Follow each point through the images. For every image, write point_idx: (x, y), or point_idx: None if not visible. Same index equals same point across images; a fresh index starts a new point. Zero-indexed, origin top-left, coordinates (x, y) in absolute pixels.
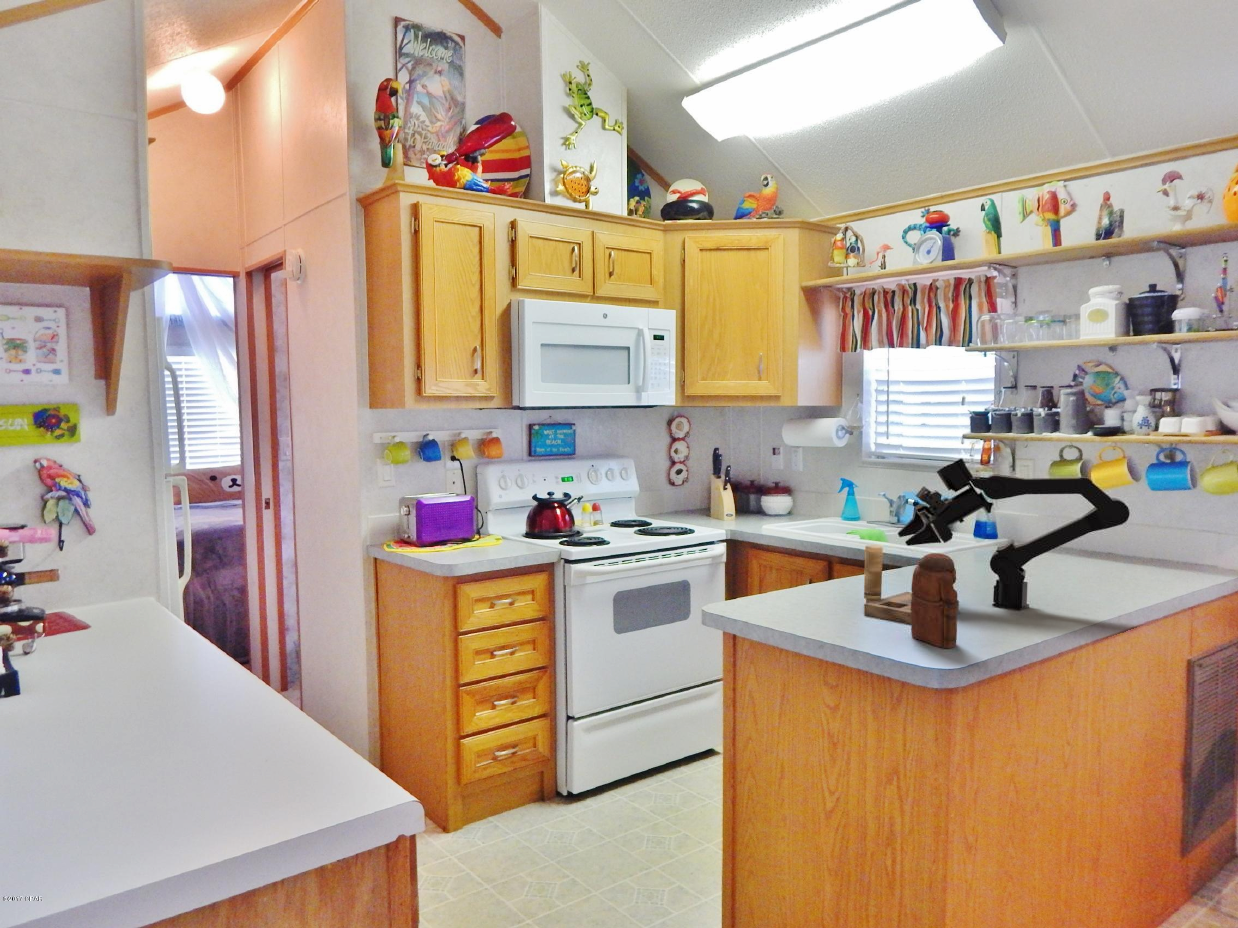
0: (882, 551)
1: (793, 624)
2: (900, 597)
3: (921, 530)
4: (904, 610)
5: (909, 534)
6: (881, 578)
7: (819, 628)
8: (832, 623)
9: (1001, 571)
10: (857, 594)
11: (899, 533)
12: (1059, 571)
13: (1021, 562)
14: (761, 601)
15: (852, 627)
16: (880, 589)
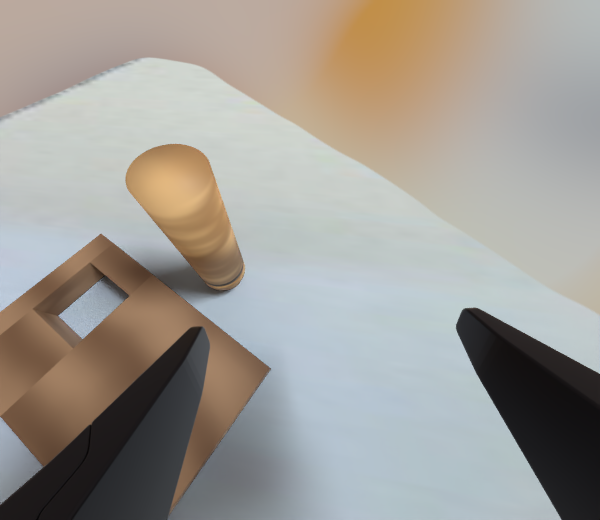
0: (157, 216)
1: (52, 132)
2: (180, 334)
3: (21, 507)
4: (3, 319)
5: (497, 404)
6: (194, 266)
7: (12, 162)
8: (47, 184)
9: None
10: (334, 256)
11: (467, 318)
12: None
13: None
14: (230, 106)
15: (5, 212)
16: (201, 276)
